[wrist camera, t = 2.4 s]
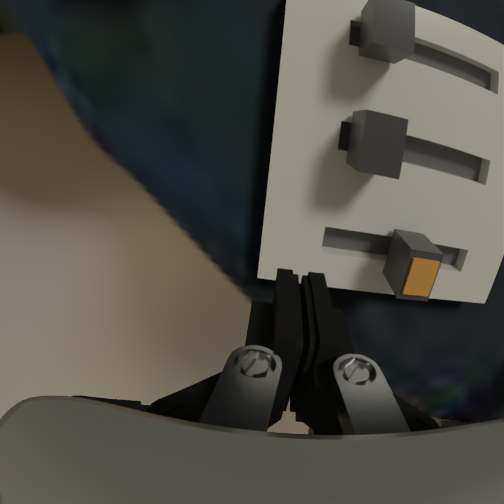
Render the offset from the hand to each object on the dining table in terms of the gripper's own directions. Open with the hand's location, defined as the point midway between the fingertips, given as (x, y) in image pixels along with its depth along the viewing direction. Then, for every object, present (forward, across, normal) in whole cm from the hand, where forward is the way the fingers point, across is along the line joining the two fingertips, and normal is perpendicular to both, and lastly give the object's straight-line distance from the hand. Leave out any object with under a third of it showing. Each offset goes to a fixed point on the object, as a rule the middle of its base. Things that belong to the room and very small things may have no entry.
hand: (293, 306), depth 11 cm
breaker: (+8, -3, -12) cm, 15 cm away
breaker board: (+9, -7, -6) cm, 13 cm away
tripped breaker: (+8, -7, 0) cm, 10 cm away
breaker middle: (+8, -3, -6) cm, 10 cm away
